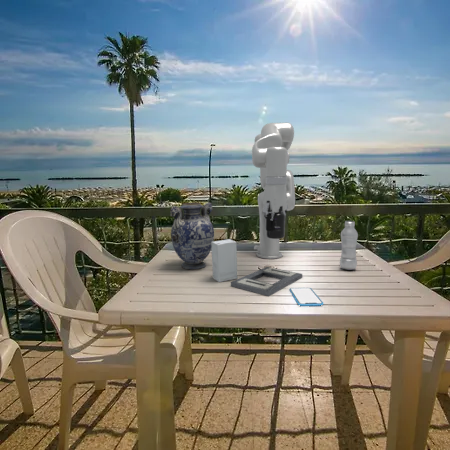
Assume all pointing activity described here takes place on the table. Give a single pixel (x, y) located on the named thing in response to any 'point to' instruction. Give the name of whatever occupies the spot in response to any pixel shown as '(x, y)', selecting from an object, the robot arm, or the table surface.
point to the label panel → (266, 288)
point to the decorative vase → (192, 233)
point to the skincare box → (224, 260)
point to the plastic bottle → (348, 246)
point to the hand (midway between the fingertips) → (275, 228)
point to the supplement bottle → (278, 225)
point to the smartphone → (306, 297)
